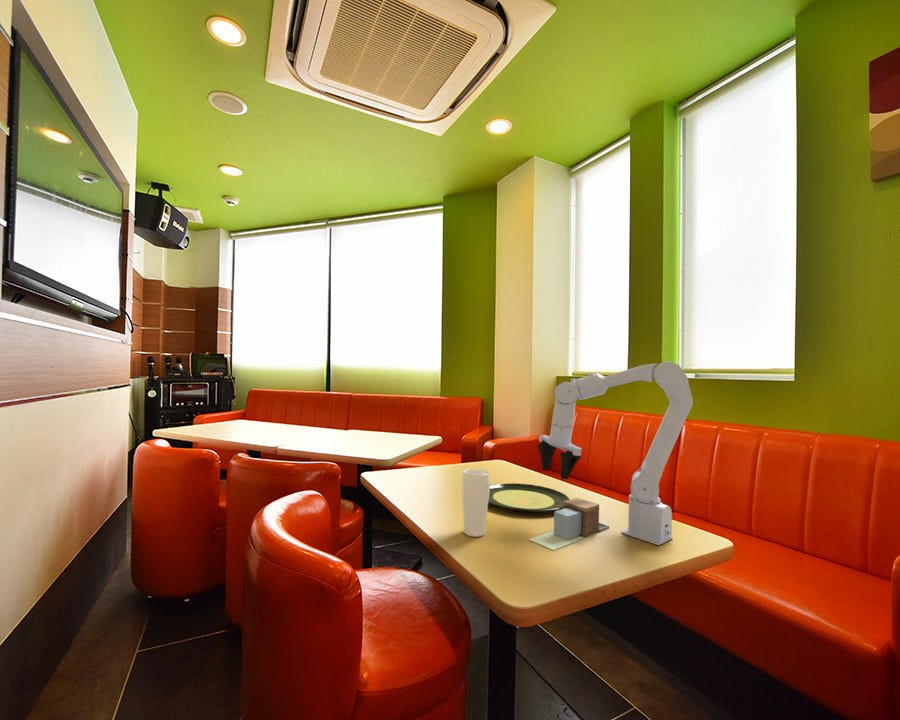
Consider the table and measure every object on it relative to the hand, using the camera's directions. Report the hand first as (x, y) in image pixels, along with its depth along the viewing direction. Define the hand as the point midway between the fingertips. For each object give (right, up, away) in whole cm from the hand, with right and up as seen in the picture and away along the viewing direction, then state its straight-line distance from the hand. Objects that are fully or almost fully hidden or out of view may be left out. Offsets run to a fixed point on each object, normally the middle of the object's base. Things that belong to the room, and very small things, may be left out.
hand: (554, 474), depth 115 cm
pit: (+9, -12, -5) cm, 16 cm away
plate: (-6, -13, +14) cm, 20 cm away
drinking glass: (-23, -11, -13) cm, 29 cm away
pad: (-3, -12, -15) cm, 19 cm away
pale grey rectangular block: (+2, -12, -10) cm, 16 cm away
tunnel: (+4, -12, -9) cm, 15 cm away
